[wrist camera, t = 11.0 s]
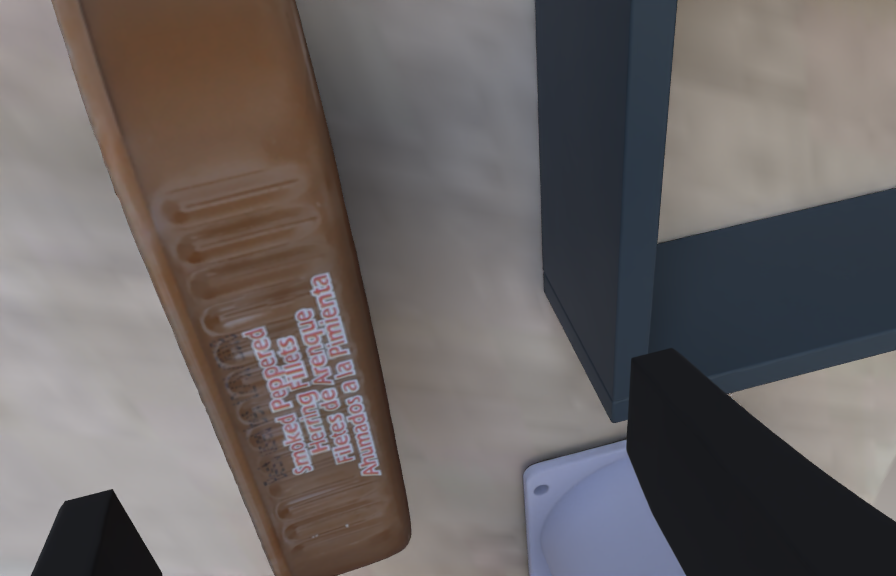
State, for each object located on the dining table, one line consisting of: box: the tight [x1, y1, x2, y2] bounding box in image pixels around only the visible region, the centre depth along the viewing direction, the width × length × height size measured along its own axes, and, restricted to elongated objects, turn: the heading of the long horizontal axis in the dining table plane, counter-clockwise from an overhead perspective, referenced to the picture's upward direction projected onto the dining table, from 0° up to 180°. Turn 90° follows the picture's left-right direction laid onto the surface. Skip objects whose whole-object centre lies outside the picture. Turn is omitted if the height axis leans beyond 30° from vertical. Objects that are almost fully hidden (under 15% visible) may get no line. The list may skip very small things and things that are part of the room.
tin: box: [51, 0, 411, 576], centre depth 16 cm, size 15×3×8 cm, turn 5°
